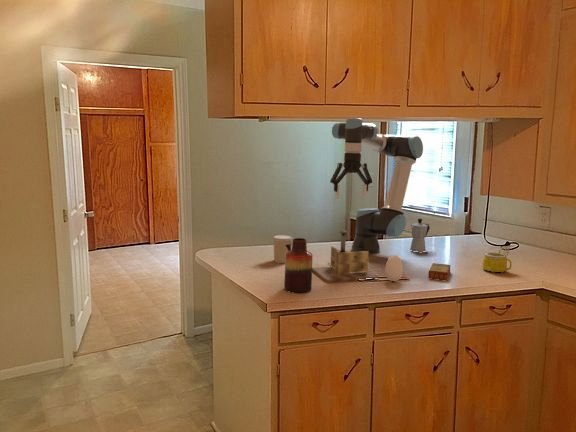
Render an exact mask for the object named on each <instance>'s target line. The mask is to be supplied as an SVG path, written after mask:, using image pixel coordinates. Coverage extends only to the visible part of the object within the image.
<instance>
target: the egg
mask: <svg viewBox="0 0 576 432" xmlns="http://www.w3.org/2000/svg"><path fill="white" fill-rule="evenodd" d="M402 261H403V260H402V259H401V257H400V256H399V255H397V254H393V255H391V256H390V257H389V258H388V259H387V261H386V264H385V268H384V269H385V270H384V271H385V276H386V277H387V279H388V281H390V282H392V281H396V282H398V281H399V280H400V279H401V278H402V276H403V273H404V264H403V262H402Z"/></svg>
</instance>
